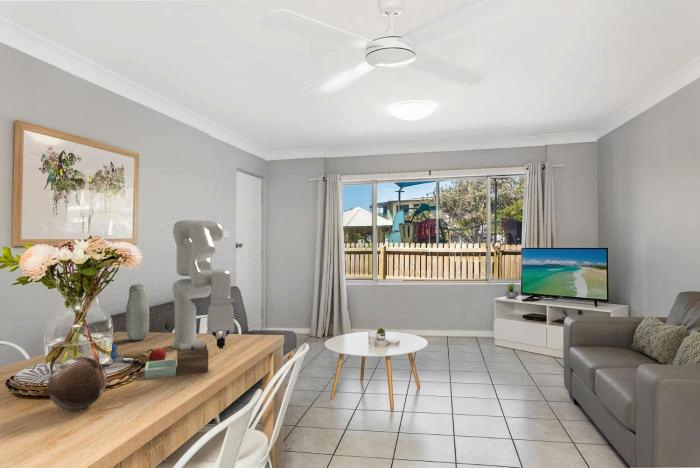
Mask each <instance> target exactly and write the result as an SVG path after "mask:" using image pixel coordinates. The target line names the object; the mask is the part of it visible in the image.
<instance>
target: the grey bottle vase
mask: <svg viewBox="0 0 700 468" xmlns="http://www.w3.org/2000/svg"><path fill="white" fill-rule="evenodd" d="M146 291H147V290H146V287H145V285H144V284H141V283H135V284H132V285H130V286H129V289H128V299H127V303H126V307H125V308H126V309H125V317H126V318H125V320H126V323H125V324H126V325H125V326H126V327H125V328H126V335H127V337H128V339H130V340H131V341H141V340H144V339H145V338H146V337H147V336H148V335H149V333H150V332H149V331H150V305H149V302H148V299H147V293H146Z"/></svg>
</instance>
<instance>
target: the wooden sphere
mask: <svg viewBox="0 0 700 468" xmlns="http://www.w3.org/2000/svg"><path fill="white" fill-rule="evenodd" d="M107 382H108V381H107V373H106V370H105V368H104V366H103V365H101V364H100V363H99V361H98V360H94V359H93V358H90V357H84V356H81V357H79V356H78V357H74V358H70V359H68V360H65V361H64V362H63V363H61V364H59V365H58V367H56V368H55V370H53V371H52V373H51V375H50V377H49V380H48V383H47V392H48V396H49V398H50V399H51V401H52V402H53V404H55V405H56V406H57V407H59V408H60V409H64V410H67V411H76V410H81V409H84V408H87V407H88V406H91V405H92V404H94V403H95V402H96V401H97V400H98V399H100V397H101V396H102V395H103V393H104V390H105V389H106V385H107Z"/></svg>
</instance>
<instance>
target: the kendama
mask: <svg viewBox="0 0 700 468" xmlns="http://www.w3.org/2000/svg"><path fill="white" fill-rule="evenodd" d="M166 357H167V354H166V351H165V349H163V348H159V347H158V348H155V347H154V348H153V347H151V348H149V349H148V350H147V352H142V353H140V354H138V353H137V354H124V355H122V359H123V358H133V359H138V360H137V361H138V362H139V361H143V362H144V363H145V366H146V363H147V362H150V361H161V360H166Z"/></svg>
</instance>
